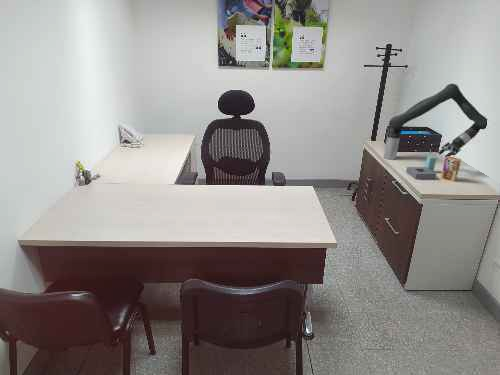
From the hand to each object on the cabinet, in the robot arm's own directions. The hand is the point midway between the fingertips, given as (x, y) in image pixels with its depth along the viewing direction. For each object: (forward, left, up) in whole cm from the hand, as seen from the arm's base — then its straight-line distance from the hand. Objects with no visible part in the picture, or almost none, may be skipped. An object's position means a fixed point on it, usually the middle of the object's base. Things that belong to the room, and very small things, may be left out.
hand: (442, 155), depth 259 cm
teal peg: (0, -7, -12) cm, 14 cm away
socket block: (+9, -18, -12) cm, 24 cm away
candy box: (+15, -1, -12) cm, 20 cm away
